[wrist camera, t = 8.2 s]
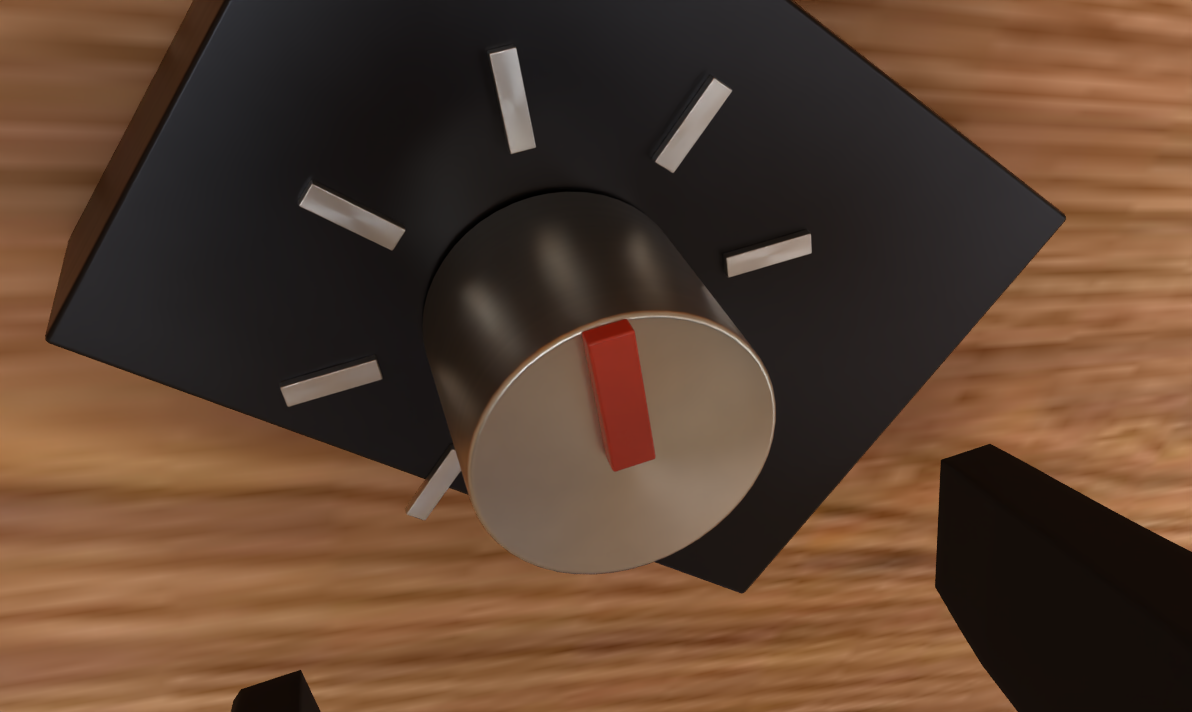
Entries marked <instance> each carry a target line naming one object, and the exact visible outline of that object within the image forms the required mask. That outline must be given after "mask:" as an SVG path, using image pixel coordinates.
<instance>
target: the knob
mask: <svg viewBox="0 0 1192 712" xmlns="http://www.w3.org/2000/svg"><path fill="white" fill-rule="evenodd" d="M422 327H423V341H424V346H425V350H426V355H427V358H428V362H429V365H430V368H431V372H432V375H433V378H434V382H435V385H436V388H437V392H438V395H439V398H440V401H441V405H442V408H443V411H444V415H445V418H446V421H447V425H448V428H449V431H450V435H451V438H452V441H453V445H454V448H455V451H456V455H457V458H458V461H459V464H460V468H461V471H462V474H463V478H464V481H465V484H466V488H467V491H468V494H469V498H470V501H471V503H472V506H473V508H474V511H475V513H476V516H477V517H478V519H479V520H480V522H481V523H482V525H483V527H484V528H485V530H486V531H487V532H488V533H489V534H490V535H491V536H492V537H493V539H494V540H495V541H496V542H498V543H499V544H500V545H501V546H503V547H504V548H505V549H506V550H508V551H509V552H510V553H512V554H513V555H515V556H517V557H519V558H520V559H522V560H524V561H526V562H528V563H531V564H533V565H536V566H538V567H541V568H545V569H549V570H553V571H556V572H563V573H571V574H603V573H613V572H618V571H623V570H629V569H633V568H636V567H640V566H643V565H647V564H650V563H652V562H655V561H657V560H660V559H662V558H665V557H667V556H669V555H671V554H673V553H675V552H677V551H679V550H681V549H683V548H685V547H687V546H688V545H690V544H691V543H693V542H695V541H696V540H698V539H700V538H701V537H702V536H704V535H705V534H706V533H708V532H709V531H710V530H712V529H713V528H714V527H716V526H717V525H718V524H719V523H720V522H721V521H722V520H723V519H724V518H725V517H727V516H728V515H729V514H730V513H731V512H732V510H733V509H734V508H735V507H736V506H737V505H738V504H739V503H740V502H741V501H742V499H743V498H744V497H745V495H746V494H747V492H748V491H749V490H750V488H751V487H752V486H753V484H754V482H755V481H756V479H757V477H758V475H759V474H760V472H761V470H762V468H763V466H764V463H765V461H766V459H767V456H768V454H769V451H770V447H771V444H772V440H773V436H774V429H775V422H776V405H775V397H774V391H773V386H772V383H771V380H770V377H769V374H768V371H767V369H766V368H765V366H764V364H763V362H762V360H761V358H760V357H759V356H758V354H757V353H756V352H755V350H754V349H753V348H752V347H751V345H750V344H749V343H748V341H747V340H746V339H745V337H744V336H743V335H742V334H741V332H740V331H739V330H738V328H737V327H736V326H735V325H734V323H733V322H732V321H731V319H730V318H729V317H728V315H727V314H726V313H725V312H724V310H723V309H722V308H721V306H720V305H719V304H718V302H717V301H716V300H715V299H714V297H713V296H712V295H711V293H710V292H709V291H708V289H707V288H706V287H705V286H704V284H703V283H702V282H701V280H700V279H699V278H698V277H697V275H696V274H695V273H694V271H693V270H692V269H691V267H690V266H689V265H688V264H687V262H686V261H685V260H684V258H683V257H682V256H681V254H680V253H679V252H678V251H677V249H676V248H675V247H674V245H673V244H672V243H671V241H670V240H669V239H668V238H667V236H666V235H665V234H664V233H663V231H662V230H661V229H660V228H659V226H658V225H657V224H655V223H654V222H653V221H652V220H651V219H650V218H649V217H648V216H647V215H645V214H644V213H642V212H641V211H639V210H638V209H636V208H635V207H633V206H631V205H629V204H626V203H624V202H622V201H620V200H617V199H614V198H611V197H608V196H604V195H599V194H593V193H587V192H557V193H548V194H543V195H539V196H534V197H530V198H527V199H524V200H521V201H518V202H516V203H513V204H511V205H509V206H507V207H505V208H503V209H500V210H498V211H496V212H495V213H493V214H492V215H490V216H489V217H487V218H485V219H484V220H482V221H481V222H479V223H478V224H477V225H476V226H475V227H473V228H472V229H471V230H470V231H469V232H467V233H466V234H465V235H464V236H463V237H462V238H461V239H460V240H459V242H458V243H457V244H456V245H455V246H454V247H453V248H452V250H451V251H450V252H449V254H448V255H447V256H446V258H445V259H444V260H443V262H442V264H441V265H440V267H439V269H438V271H437V273H436V274H435V276H434V278H433V281H432V283H431V286H430V288H429V291H428V294H427V298H426V302H425V306H424V313H423V324H422Z"/></svg>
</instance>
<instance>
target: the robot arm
mask: <svg viewBox="0 0 1192 712" xmlns="http://www.w3.org/2000/svg"><path fill="white" fill-rule="evenodd" d="M935 587H936V589H937V591H938V592H939V594H940V596H941V598H942V599H943V601H944V603H945V604H946V606H947V608H948V610H949V611H950V613H951V615H952V617H953V618H954V620H955V622H956V623H957V625H958V627H959V629H960V630H961V632H962V633H963V635H964V637H965V638H966V640H967V641H968V643H969V645H970V646H971V648H972V650H973V651H974V653H975V654H976V656H977V658H978V659H979V661H980V662H981V664H982V665H983V667H984V668H985V669H986V671H987V672H988V673H989V675H990V676H991V677H992V679H993V680H994V681H995V683H996V684H997V685H998V686H999V688H1000V689H1001V690H1002V692H1003V693H1004V694H1005V696H1006V697H1007V698H1008V699H1009V701H1010V702H1011V703H1012V705H1013V706H1014V707H1015V708H1016V710H1017V711H1018V712H1192V552H1191V551H1189V550H1187V549H1185V548H1183V547H1181V546H1179V545H1177V544H1175V543H1173V542H1171V541H1169V540H1167V539H1165V538H1163V537H1161V536H1160V535H1158V534H1156V533H1154V532H1152V531H1150V530H1148V529H1146V528H1144V527H1142V526H1140V525H1138V524H1137V523H1135V522H1133V521H1131V520H1129V519H1127V518H1125V517H1124V516H1122V515H1120V514H1118V513H1116V512H1114V511H1112V510H1110V509H1109V508H1107V507H1105V506H1103V505H1101V504H1100V503H1098V502H1096V501H1094V500H1092V499H1090V498H1089V497H1087V496H1085V495H1083V494H1081V493H1079V492H1078V491H1076V490H1074V489H1072V488H1070V487H1068V486H1067V485H1065V484H1063V483H1061V482H1059V481H1058V480H1056V479H1054V478H1052V477H1050V476H1049V475H1047V474H1045V473H1043V472H1041V471H1040V470H1038V469H1036V468H1034V467H1032V466H1030V465H1029V464H1027V463H1025V462H1023V461H1021V460H1019V459H1018V458H1016V457H1014V456H1012V455H1010V454H1008V453H1006V452H1005V451H1003V450H1001V449H999V448H997V447H995V446H993V445H991V444H988V445H985V446H982V447H979V448H976V449H973V450H970V451H967V452H964V453H961V454H958V455H955V456H952V457H948V458H945V459H942V460H941V470H940V492H939V514H938V536H937V557H936V579H935ZM231 712H320V710H319V707H318V705H317V703H316V701H315V699H314V697H313V695H312V693H311V690H310V688H309V686H308V684H307V682H306V680H305V678H304V676H303V674H302V671H301V670H299V671H296V672H293V673H290V674H287V675H284V676H281V677H277V678H274V679H271V680H268V681H265V682H262V683H259V684H256V685H253V686H250V687H247V688H244V689H241V690H240V692H239V693H238V695H237V696H236V698H235V699H234V701H233V705H232V710H231Z"/></svg>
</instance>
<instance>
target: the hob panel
mask: <svg viewBox="0 0 1192 712" xmlns="http://www.w3.org/2000/svg"><path fill="white" fill-rule="evenodd" d="M557 192H587V193H593V194H599V195H604V196H608V197H611V198H614V199H617V200H620V201H622V202H624V203H626V204H629V205H631V206H633V207H635V208H636V209H638V210H639V211H641V212H642V213H644V214H645V215H647V216H648V217H649V218H650V219H651V220H652V221H653V222H654V223H655V224H657V225H658V226H659V228H660V229H661V230H662V231H663V233H664V234H665V235H666V236H667V238H668V239H669V240H670V241H671V243H672V244H673V245H674V247H675V248H676V249H677V251H678V252H679V253H680V254H681V256H682V257H683V258H684V260H685V261H686V262H687V264H688V265H689V266H690V267H691V269H692V270H693V271H694V273H695V274H696V275H697V277H698V278H699V279H700V280H701V282H702V283H703V284H704V286H705V287H706V288H707V289H708V291H709V292H710V293H711V295H712V296H713V297H714V299H715V300H716V301H717V302H718V304H719V305H720V306H721V308H722V309H723V310H724V312H725V313H726V314H727V315H728V317H729V318H730V319H731V321H732V322H733V323H734V325H735V326H736V327H737V328H738V330H739V331H740V332H741V334H742V335H743V336H744V337H745V339H746V340H747V341H748V343H749V344H750V345H751V347H752V348H753V349H754V350H755V352H756V353H757V354H758V356H759V357H760V358H761V360H762V362H763V364H764V366H765V368H766V369H767V371H768V374H769V377H770V380H771V383H772V386H773V391H774V397H775V405H776V422H775V429H774V436H773V440H772V444H771V447H770V451H769V454H768V456H767V459H766V461H765V463H764V466H763V468H762V470H761V472H760V474H759V475H758V477H757V479H756V481H755V482H754V484H753V486H752V487H751V488H750V490H749V491H748V492H747V494H746V495H745V497H744V498H743V499H742V501H741V502H740V503H739V504H738V505H737V506H736V507H735V508H734V509H733V510H732V512H731V513H730V514H729V515H728V516H727V517H725V518H724V519H723V520H722V521H721V522H720V523H719V524H718V525H717V526H716V527H714V528H713V529H712V530H710V531H709V532H708V533H706V534H705V535H704V536H702V537H701V538H700V539H698V540H696V541H695V542H693V543H691V544H690V545H688V546H687V547H685V548H683V549H681V550H679V551H677V552H675V553H673V554H671V555H669V556H667V557H665V558H662V559H660V560H657V561H655V562H656V563H659V564H662V565H664V566H667V567H670V568H673V569H675V570H678V571H681V572H684V573H686V574H689V575H692V576H695V577H698V578H700V579H703V580H706V581H709V582H711V583H714V584H717V585H720V586H722V587H725V588H728V589H731V590H734V591H736V592H739V593H744V592H746V591H747V589H748V588H749V587H750V586H751V585H752V584H753V582H754V581H755V580H756V579H757V578H758V577H759V575H760V574H761V573H762V572H763V571H764V570H765V568H766V567H767V566H768V565H769V564H770V563H771V562H772V560H773V559H774V558H775V557H776V556H777V555H778V553H779V552H780V551H781V550H782V549H783V548H784V546H785V545H786V544H787V543H788V542H789V541H790V539H791V538H792V537H793V536H794V535H795V534H796V533H797V531H798V530H799V529H800V528H801V527H802V526H803V524H804V523H805V522H806V521H807V520H808V519H809V517H810V516H811V515H812V514H813V513H814V512H815V510H816V509H817V508H818V507H819V506H820V505H821V503H822V502H823V501H824V500H825V499H826V498H827V497H828V495H829V494H830V493H831V492H832V491H833V490H834V488H835V487H836V486H837V485H838V484H839V483H840V481H841V480H842V479H843V478H844V477H845V476H846V474H847V473H848V472H849V471H850V470H851V469H852V468H853V466H854V465H855V464H856V463H857V462H858V461H859V459H860V458H861V457H862V456H863V455H864V454H865V452H866V451H867V450H868V449H869V448H870V447H871V445H872V444H873V443H874V442H875V441H876V440H877V439H878V437H879V436H880V435H881V434H882V433H883V432H884V430H885V429H886V428H887V427H888V426H889V425H890V423H891V422H892V421H893V420H894V419H895V418H896V416H897V415H898V414H899V413H900V412H901V411H902V410H903V408H904V407H905V406H906V405H907V404H908V403H909V401H910V400H911V399H912V398H913V397H914V396H915V394H916V393H917V392H918V391H919V390H920V389H921V387H922V386H923V385H924V384H925V383H926V382H927V381H928V379H929V378H930V377H931V376H932V375H933V374H934V372H935V371H936V370H937V369H938V368H939V367H940V365H941V364H942V363H943V362H944V361H945V360H946V358H947V357H948V356H949V355H950V354H951V353H952V351H953V350H954V349H955V348H956V347H957V346H958V345H959V343H960V342H961V341H962V340H963V339H964V338H965V336H966V335H967V334H968V333H969V332H970V331H971V329H972V328H973V327H974V326H975V325H976V324H977V322H978V321H979V320H980V319H981V318H982V317H983V316H984V314H985V313H986V312H987V311H988V310H989V309H990V307H991V306H992V305H993V304H994V303H995V302H996V300H997V299H998V298H999V297H1000V296H1001V295H1002V293H1003V292H1004V291H1005V290H1006V289H1007V288H1008V287H1009V285H1010V284H1011V283H1012V282H1013V281H1014V280H1015V278H1016V277H1017V276H1018V275H1019V274H1020V273H1021V271H1022V270H1023V269H1024V268H1025V267H1026V266H1027V264H1028V263H1029V262H1030V261H1031V260H1032V259H1033V258H1034V256H1035V255H1036V254H1037V253H1038V252H1039V251H1040V249H1041V248H1042V247H1043V246H1044V245H1045V244H1046V242H1047V241H1048V240H1049V239H1050V238H1051V237H1052V235H1053V234H1054V233H1055V232H1056V231H1057V230H1058V229H1059V227H1060V226H1061V225H1062V224H1063V223H1064V222H1065V220H1066V216H1065V214H1064V213H1062V212H1061V211H1060V210H1059V209H1057V208H1056V207H1055V206H1053V205H1052V204H1051V203H1050V202H1048V201H1047V200H1046V199H1045V198H1043V197H1042V196H1041V195H1039V194H1038V193H1037V192H1036V191H1034V190H1033V189H1032V188H1031V187H1029V186H1028V185H1027V184H1025V183H1024V182H1023V181H1022V180H1020V179H1019V178H1018V177H1016V176H1015V175H1014V174H1013V173H1011V172H1010V171H1009V170H1008V169H1006V168H1005V167H1004V166H1002V165H1001V164H1000V163H999V162H997V161H996V160H995V159H994V158H992V157H991V156H990V155H988V154H987V153H986V152H985V151H983V150H982V149H981V148H980V147H978V146H977V145H976V144H974V143H973V142H972V141H971V140H969V139H968V138H967V137H966V136H964V135H963V134H962V133H960V132H959V131H958V130H957V129H955V128H954V127H953V126H951V125H950V124H949V123H948V122H946V121H945V120H944V119H943V118H941V117H940V116H939V115H937V114H936V113H935V112H934V111H932V110H931V109H930V108H929V107H927V106H926V105H925V104H923V103H922V102H921V101H920V100H918V99H917V98H916V97H915V96H913V95H912V94H911V93H909V92H908V91H907V90H906V89H904V88H903V87H902V86H901V85H899V84H898V83H897V82H895V81H894V80H893V79H892V78H890V77H889V76H888V75H886V74H885V73H884V72H883V71H881V70H880V69H879V68H878V67H876V66H875V65H874V64H872V63H871V62H870V61H869V60H867V59H866V58H865V57H864V56H862V55H861V54H860V53H858V52H857V51H856V50H855V49H853V48H852V47H851V46H850V45H848V44H847V43H846V42H844V41H843V40H842V39H841V38H839V37H838V36H837V35H836V34H834V33H833V32H832V31H830V30H829V29H828V28H827V27H825V26H824V25H823V24H821V23H820V22H819V21H818V20H816V19H815V18H814V17H813V16H811V15H810V14H809V13H807V12H806V11H805V10H804V9H802V8H801V7H800V6H799V5H797V4H796V3H795V2H793V1H792V0H194V1H193V3H192V5H191V7H190V8H189V10H188V12H187V14H186V16H185V18H184V20H183V22H182V24H181V26H180V28H179V30H178V31H177V33H176V35H175V37H174V39H173V41H172V43H171V45H170V47H169V49H168V51H167V53H166V55H165V56H164V58H163V60H162V62H161V64H160V66H159V68H158V70H157V72H156V74H155V76H154V78H153V79H152V81H151V83H150V85H149V87H148V89H147V91H146V93H145V95H144V97H143V99H142V101H141V102H140V104H139V106H138V108H137V110H136V112H135V114H134V116H133V118H132V120H131V122H130V124H129V126H128V127H127V129H126V131H125V133H124V135H123V137H122V139H121V141H120V143H119V145H118V147H117V149H116V150H115V152H114V154H113V156H112V158H111V160H110V162H109V164H108V166H107V168H106V170H105V172H104V173H103V175H102V177H101V179H100V181H99V183H98V185H97V187H96V189H95V191H94V193H93V195H92V196H91V198H90V200H89V202H88V204H87V206H86V208H85V210H84V212H83V214H82V216H81V218H80V220H79V221H78V223H77V225H76V227H75V229H74V231H73V233H72V235H71V237H70V239H69V241H68V245H67V249H66V253H65V257H64V261H63V265H62V269H61V273H60V278H59V282H58V286H57V290H56V294H55V298H54V302H53V306H52V310H51V314H50V318H49V323H48V327H47V331H46V335H45V340H46V341H47V342H48V343H50V344H53V345H56V346H58V347H61V348H64V349H67V350H69V351H72V352H75V353H78V354H80V355H83V356H86V357H89V358H92V359H94V360H97V361H100V362H103V363H105V364H108V365H111V366H114V367H116V368H119V369H122V370H125V371H127V372H130V373H133V374H136V375H139V376H141V377H144V378H147V379H150V380H152V381H155V382H158V383H161V384H163V385H166V386H169V387H172V388H175V389H177V390H180V391H183V392H186V393H188V394H191V395H194V396H197V397H199V398H202V399H205V400H208V401H210V402H213V403H216V404H219V405H222V406H224V407H227V408H230V409H233V410H235V411H238V412H241V413H244V414H246V415H249V416H252V417H255V418H258V419H260V420H263V421H266V422H269V423H271V424H274V425H277V426H280V427H282V428H285V429H288V430H291V431H294V432H296V433H299V434H302V435H305V436H307V437H310V438H313V439H316V440H318V441H321V442H324V443H327V444H329V445H332V446H335V447H338V448H341V449H343V450H346V451H349V452H352V453H354V454H357V455H360V456H363V457H365V458H368V459H371V460H374V461H377V462H379V463H382V464H385V465H388V466H390V467H393V468H396V469H399V470H401V471H404V472H407V473H410V474H413V475H415V476H418V477H421V478H424V479H425V481H424V482H423V483H422V485H421V486H420V488H419V489H418V491H417V492H416V493H415V495H414V496H413V498H412V499H411V500H410V502H409V503H408V505H407V506H406V508H405V511H406V514H407V515H410V516H413V517H416V518H419V519H422V520H426V519H427V517H428V516H429V514H430V513H431V512H432V510H433V509H434V507H435V506H436V505H437V503H438V502H439V500H440V499H441V498H442V496H443V495H444V493H445V492H446V491H447V489H448V488H451V489H454V490H457V491H460V492H462V493H465V494H468V491H467V488H466V484H465V481H464V478H463V474H462V471H461V468H460V464H459V461H458V458H457V455H456V451H455V448H454V445H453V441H452V438H451V435H450V431H449V428H448V425H447V421H446V418H445V415H444V411H443V408H442V405H441V401H440V398H439V395H438V392H437V388H436V385H435V382H434V378H433V375H432V372H431V368H430V365H429V362H428V358H427V355H426V350H425V346H424V341H423V327H422V324H423V313H424V306H425V302H426V298H427V294H428V291H429V288H430V286H431V283H432V281H433V278H434V276H435V274H436V273H437V271H438V269H439V267H440V265H441V264H442V262H443V260H444V259H445V258H446V256H447V255H448V254H449V252H450V251H451V250H452V248H453V247H454V246H455V245H456V244H457V243H458V242H459V240H460V239H461V238H462V237H463V236H464V235H465V234H466V233H467V232H469V231H470V230H471V229H472V228H473V227H475V226H476V225H477V224H478V223H479V222H481V221H482V220H484V219H485V218H487V217H489V216H490V215H492V214H493V213H495V212H496V211H498V210H500V209H503V208H505V207H507V206H509V205H511V204H513V203H516V202H518V201H521V200H524V199H527V198H530V197H534V196H539V195H543V194H548V193H557ZM468 495H469V494H468Z"/></svg>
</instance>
